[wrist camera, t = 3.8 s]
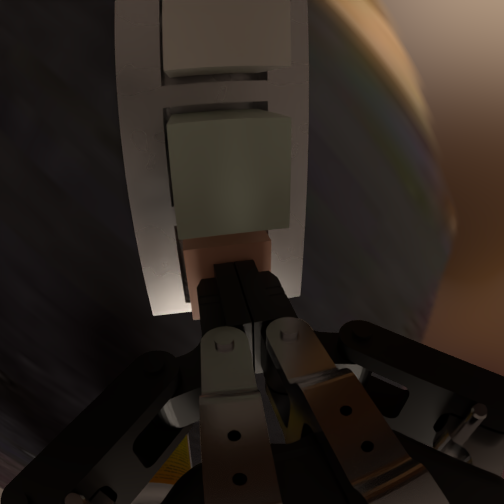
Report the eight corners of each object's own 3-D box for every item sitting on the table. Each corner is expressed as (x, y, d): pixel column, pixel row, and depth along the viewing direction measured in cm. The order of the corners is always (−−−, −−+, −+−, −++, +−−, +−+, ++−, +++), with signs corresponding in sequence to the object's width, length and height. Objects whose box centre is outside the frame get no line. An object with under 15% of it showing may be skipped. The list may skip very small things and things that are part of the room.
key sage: (178, 195, 12) (178, 240, 9) (171, 114, 11) (166, 124, 7) (258, 187, 13) (289, 227, 9) (257, 108, 11) (291, 117, 8)
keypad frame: (155, 280, 17) (153, 315, 14) (127, 5, 10) (115, -14, 8) (282, 264, 18) (300, 296, 15) (283, -1, 11) (306, -18, 9)
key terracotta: (188, 269, 16) (193, 320, 13) (181, 210, 15) (182, 250, 11) (250, 261, 17) (270, 309, 13) (249, 203, 15) (271, 240, 12)
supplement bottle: (109, 389, 20) (102, 518, 11) (183, 389, 22) (200, 521, 13) (123, 427, 23) (125, 536, 14) (187, 427, 24) (203, 536, 15)
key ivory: (169, 78, 10) (163, 70, 7) (168, 0, 9) (163, -39, 5) (257, 73, 11) (291, 66, 7) (255, -3, 9) (288, -38, 6)
